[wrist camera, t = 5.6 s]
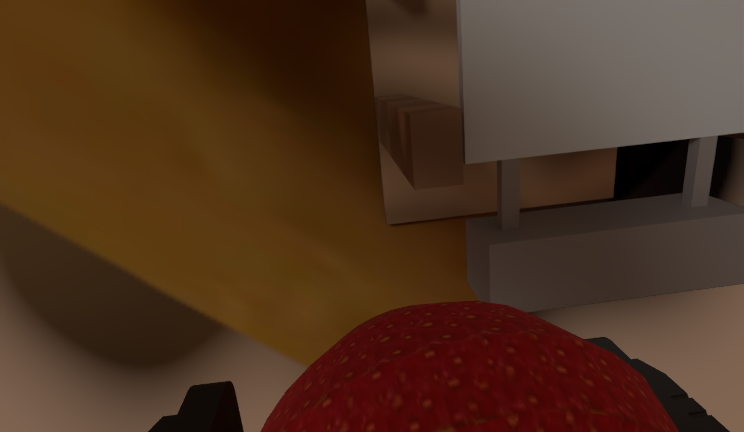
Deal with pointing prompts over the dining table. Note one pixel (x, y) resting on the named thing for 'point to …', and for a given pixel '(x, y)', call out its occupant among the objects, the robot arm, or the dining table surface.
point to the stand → (451, 126)
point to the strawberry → (467, 378)
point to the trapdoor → (600, 143)
